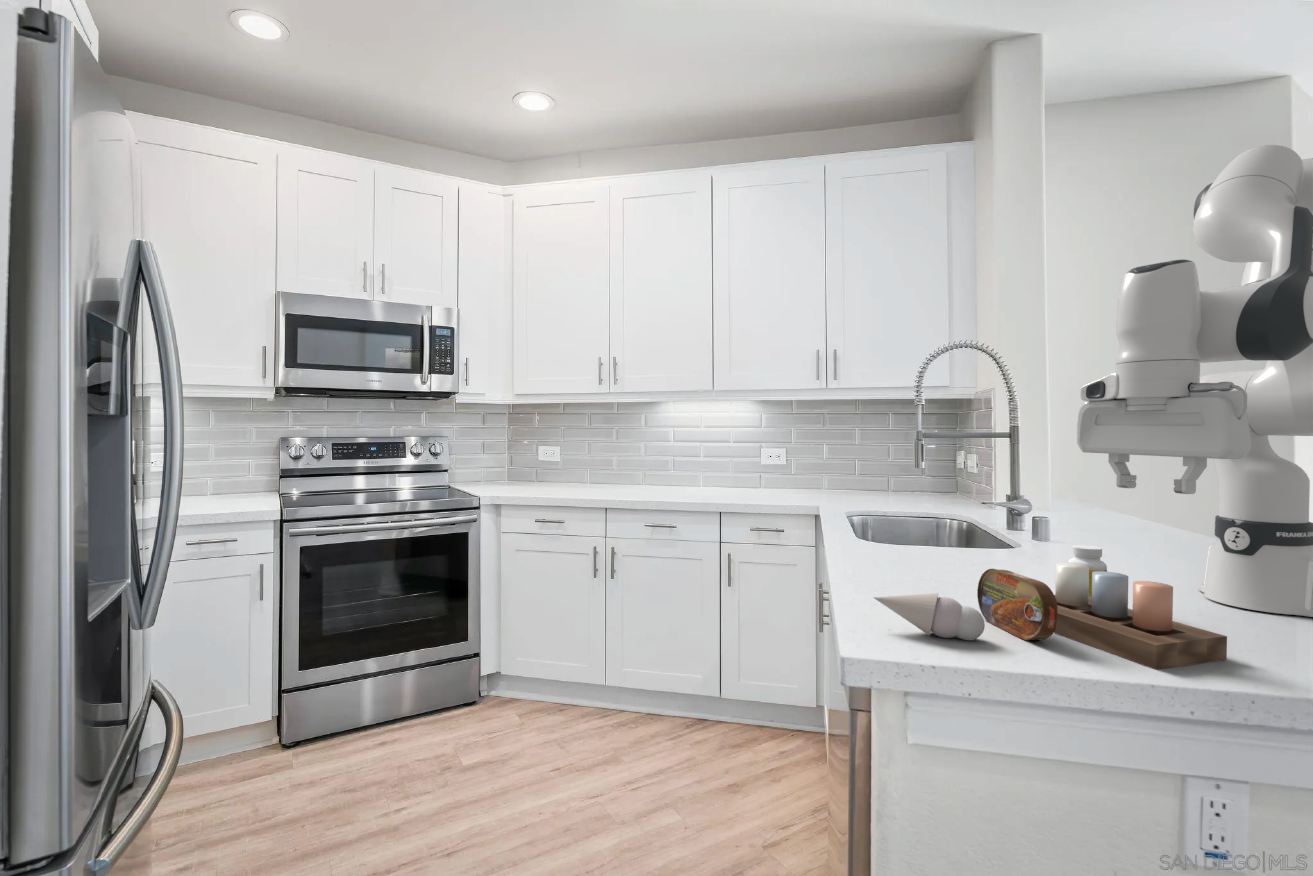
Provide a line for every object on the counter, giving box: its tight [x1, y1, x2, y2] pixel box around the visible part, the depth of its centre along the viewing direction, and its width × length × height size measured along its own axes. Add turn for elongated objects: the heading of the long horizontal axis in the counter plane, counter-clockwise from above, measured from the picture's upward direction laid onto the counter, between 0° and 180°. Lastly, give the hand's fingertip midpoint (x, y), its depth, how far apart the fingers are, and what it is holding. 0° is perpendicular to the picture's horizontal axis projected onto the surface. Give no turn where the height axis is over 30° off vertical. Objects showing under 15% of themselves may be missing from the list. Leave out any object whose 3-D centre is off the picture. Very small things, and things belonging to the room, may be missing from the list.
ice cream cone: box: [873, 592, 986, 641], centre depth 93 cm, size 6×6×15 cm
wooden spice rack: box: [1053, 594, 1228, 670], centre depth 92 cm, size 12×22×3 cm, turn 16°
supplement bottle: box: [1067, 544, 1108, 598], centre depth 107 cm, size 5×5×10 cm
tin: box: [976, 568, 1058, 641], centre depth 95 cm, size 15×3×8 cm, turn 5°
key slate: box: [1092, 571, 1129, 618], centre depth 92 cm, size 4×4×6 cm
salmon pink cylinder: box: [1132, 580, 1174, 631], centre depth 86 cm, size 4×4×6 cm
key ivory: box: [1054, 562, 1089, 606], centre depth 98 cm, size 4×4×6 cm
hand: (1154, 490), depth 86 cm, fingers open, 6 cm apart
